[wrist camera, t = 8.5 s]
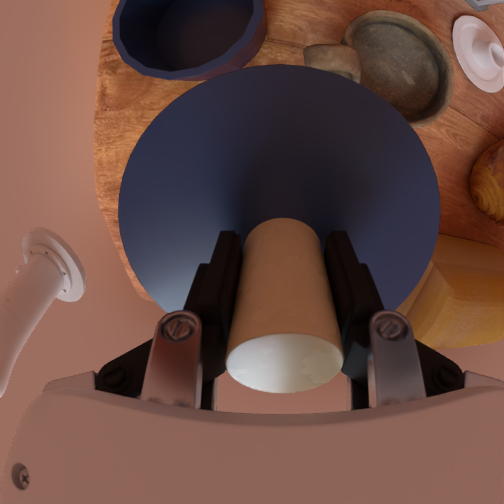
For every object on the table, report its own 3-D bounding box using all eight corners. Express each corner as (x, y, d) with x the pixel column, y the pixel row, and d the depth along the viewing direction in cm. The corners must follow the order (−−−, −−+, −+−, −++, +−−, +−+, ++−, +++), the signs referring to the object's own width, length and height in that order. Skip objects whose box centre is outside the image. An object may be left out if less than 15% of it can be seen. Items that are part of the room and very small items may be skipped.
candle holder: (442, 6, 16) (459, 2, 12) (498, 28, 14) (515, 28, 10) (455, 84, 22) (474, 87, 19) (507, 98, 20) (525, 103, 17)
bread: (382, 291, 42) (407, 364, 30) (410, 226, 35) (457, 295, 23) (473, 296, 42) (502, 350, 30) (501, 246, 35) (542, 297, 22)
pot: (155, 87, 27) (115, 92, 19) (151, -4, 19) (114, -24, 12) (268, 76, 26) (266, 71, 18) (263, -21, 18) (259, -55, 10)
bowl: (429, 128, 27) (474, 148, 18) (300, 117, 28) (311, 129, 20) (428, 32, 19) (473, 25, 11) (292, 11, 21) (299, -18, 13)
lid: (168, 332, 17) (139, 422, 11) (104, 94, 9) (-23, 132, 3) (388, 333, 16) (412, 424, 10) (447, 92, 8) (569, 131, 2)
